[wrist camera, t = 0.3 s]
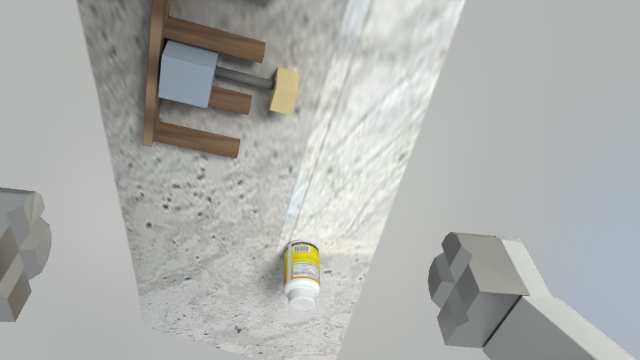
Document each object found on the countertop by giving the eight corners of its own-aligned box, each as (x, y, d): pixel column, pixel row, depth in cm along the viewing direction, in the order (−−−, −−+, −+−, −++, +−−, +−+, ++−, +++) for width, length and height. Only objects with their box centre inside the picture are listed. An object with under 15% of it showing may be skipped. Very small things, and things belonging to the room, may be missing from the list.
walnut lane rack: (164, -58, 42) (155, -44, 39) (281, -21, 44) (280, -6, 42) (149, 125, 56) (142, 144, 54) (238, 145, 59) (235, 163, 56)
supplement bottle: (299, 262, 78) (298, 317, 70) (277, 246, 74) (275, 303, 67) (325, 249, 75) (328, 306, 68) (304, 233, 72) (304, 290, 65)
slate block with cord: (172, 30, 48) (161, 55, 44) (301, 65, 51) (300, 91, 47) (168, 70, 51) (158, 96, 47) (289, 100, 54) (288, 127, 51)
